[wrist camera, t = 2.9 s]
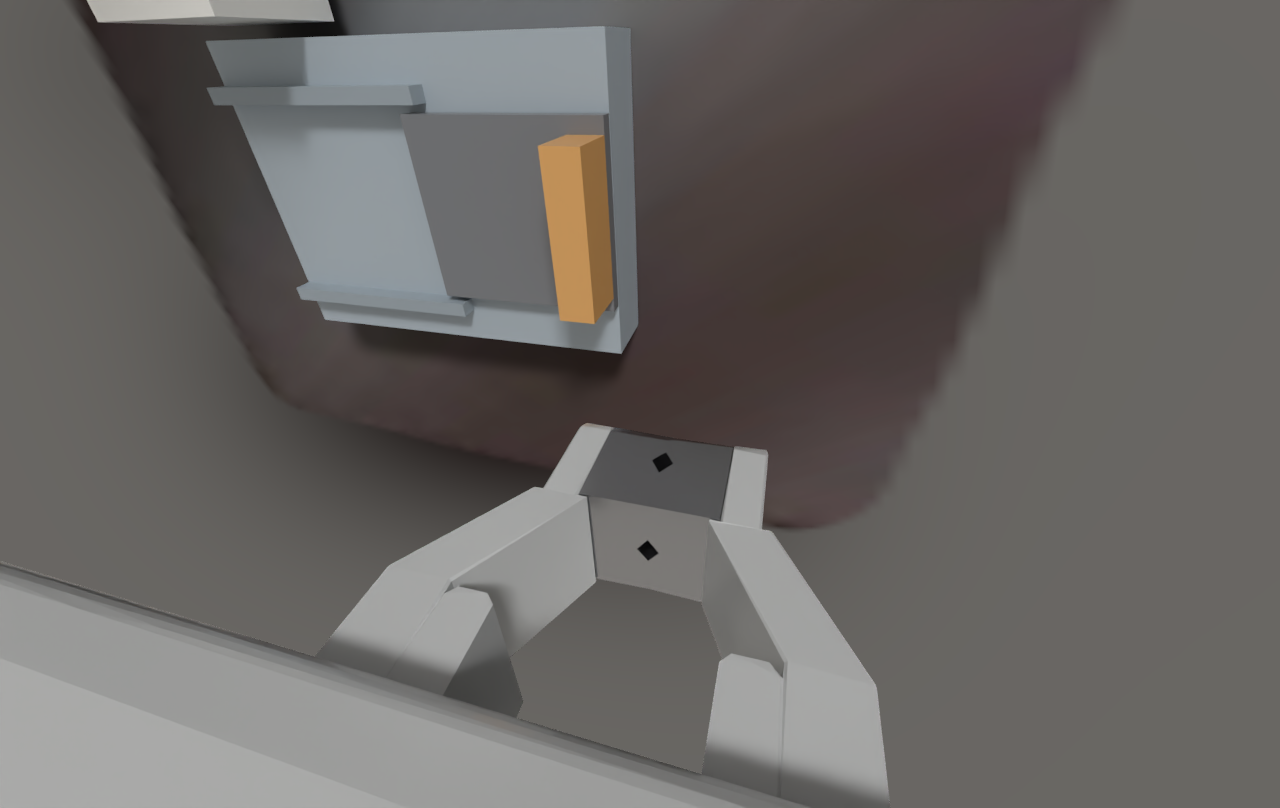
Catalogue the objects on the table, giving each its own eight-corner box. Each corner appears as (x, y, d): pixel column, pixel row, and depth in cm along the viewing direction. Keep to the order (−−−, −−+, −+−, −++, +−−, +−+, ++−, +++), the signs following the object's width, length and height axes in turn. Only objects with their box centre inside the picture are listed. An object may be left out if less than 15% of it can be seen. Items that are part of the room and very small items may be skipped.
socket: (269, 41, 22) (185, 41, 19) (630, 28, 18) (596, 25, 15) (363, 297, 29) (313, 326, 26) (638, 324, 25) (616, 362, 22)
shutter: (409, 112, 19) (353, 122, 17) (608, 113, 17) (577, 124, 15) (454, 290, 23) (415, 318, 21) (618, 305, 21) (595, 338, 19)
